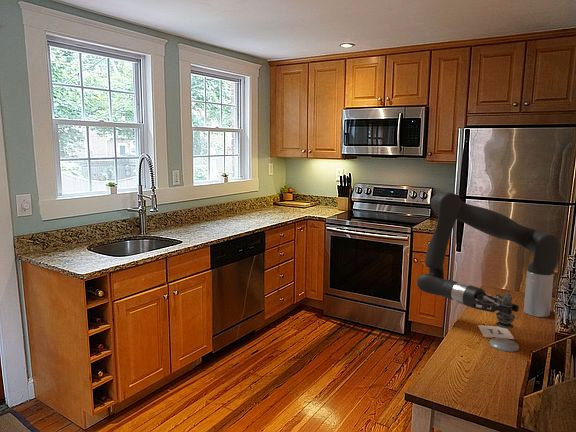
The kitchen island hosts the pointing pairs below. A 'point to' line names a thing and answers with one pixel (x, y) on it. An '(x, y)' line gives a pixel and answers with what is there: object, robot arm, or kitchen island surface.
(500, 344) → the coaster
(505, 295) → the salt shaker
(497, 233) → the robot arm
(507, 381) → the kitchen island surface
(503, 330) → the card
